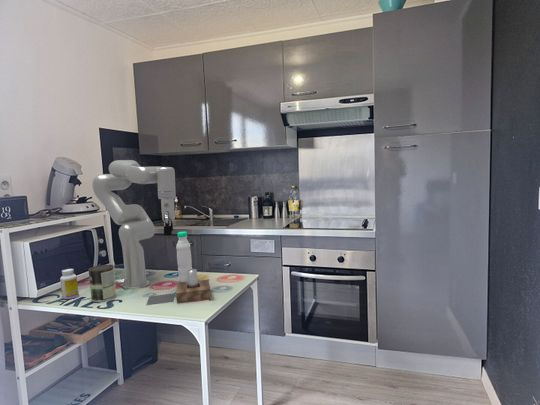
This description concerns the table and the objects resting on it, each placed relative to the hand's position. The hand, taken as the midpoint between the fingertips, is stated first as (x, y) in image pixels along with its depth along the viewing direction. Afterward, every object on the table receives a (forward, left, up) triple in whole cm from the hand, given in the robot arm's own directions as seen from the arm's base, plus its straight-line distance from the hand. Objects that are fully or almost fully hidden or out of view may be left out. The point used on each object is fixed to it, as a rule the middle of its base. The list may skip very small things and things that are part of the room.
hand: (168, 232), depth 158 cm
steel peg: (+9, -8, -28) cm, 30 cm away
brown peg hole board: (+9, -8, -28) cm, 31 cm away
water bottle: (+5, +18, -28) cm, 34 cm away
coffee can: (-31, +6, -28) cm, 42 cm away
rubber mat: (-5, -7, -28) cm, 29 cm away
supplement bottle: (-47, +13, -28) cm, 56 cm away
